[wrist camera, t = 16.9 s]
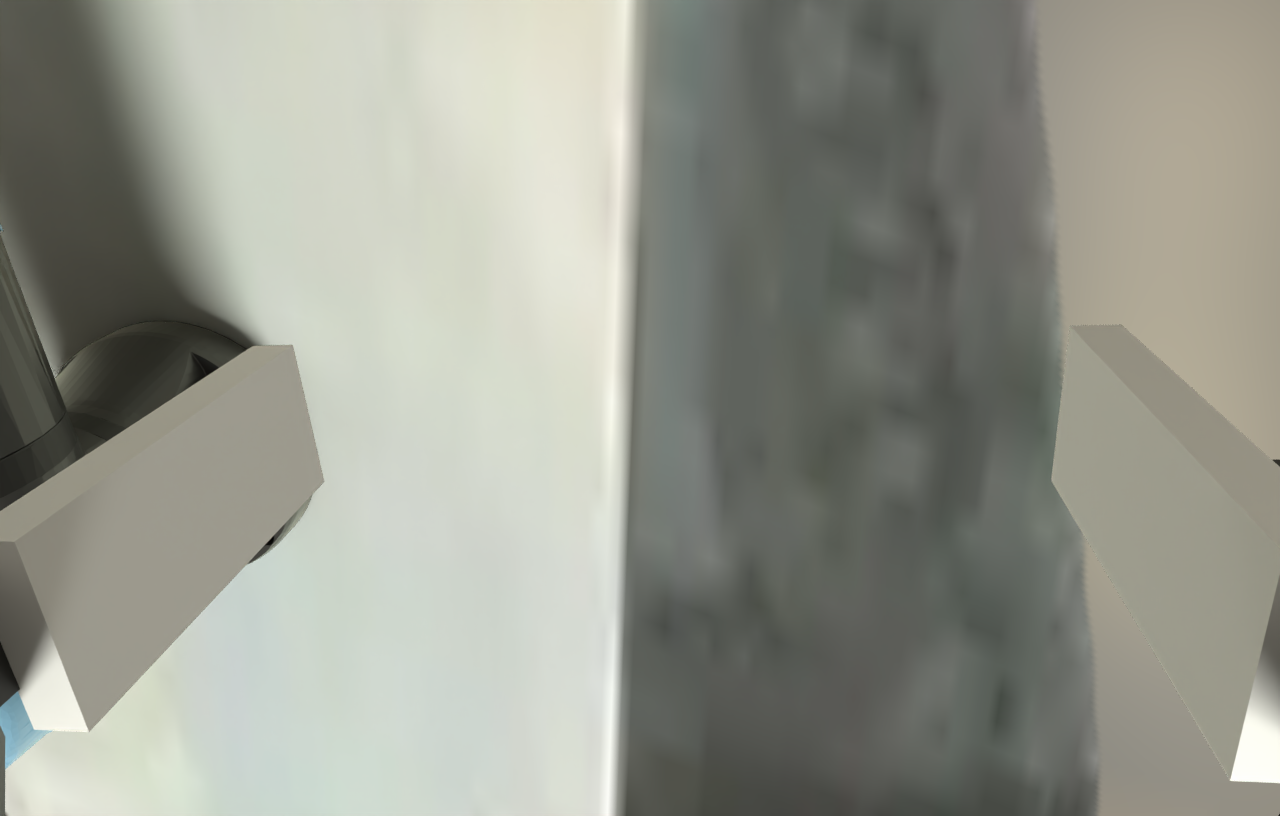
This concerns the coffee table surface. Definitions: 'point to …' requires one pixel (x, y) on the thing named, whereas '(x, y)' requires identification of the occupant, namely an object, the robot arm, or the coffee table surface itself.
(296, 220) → the coffee table surface
